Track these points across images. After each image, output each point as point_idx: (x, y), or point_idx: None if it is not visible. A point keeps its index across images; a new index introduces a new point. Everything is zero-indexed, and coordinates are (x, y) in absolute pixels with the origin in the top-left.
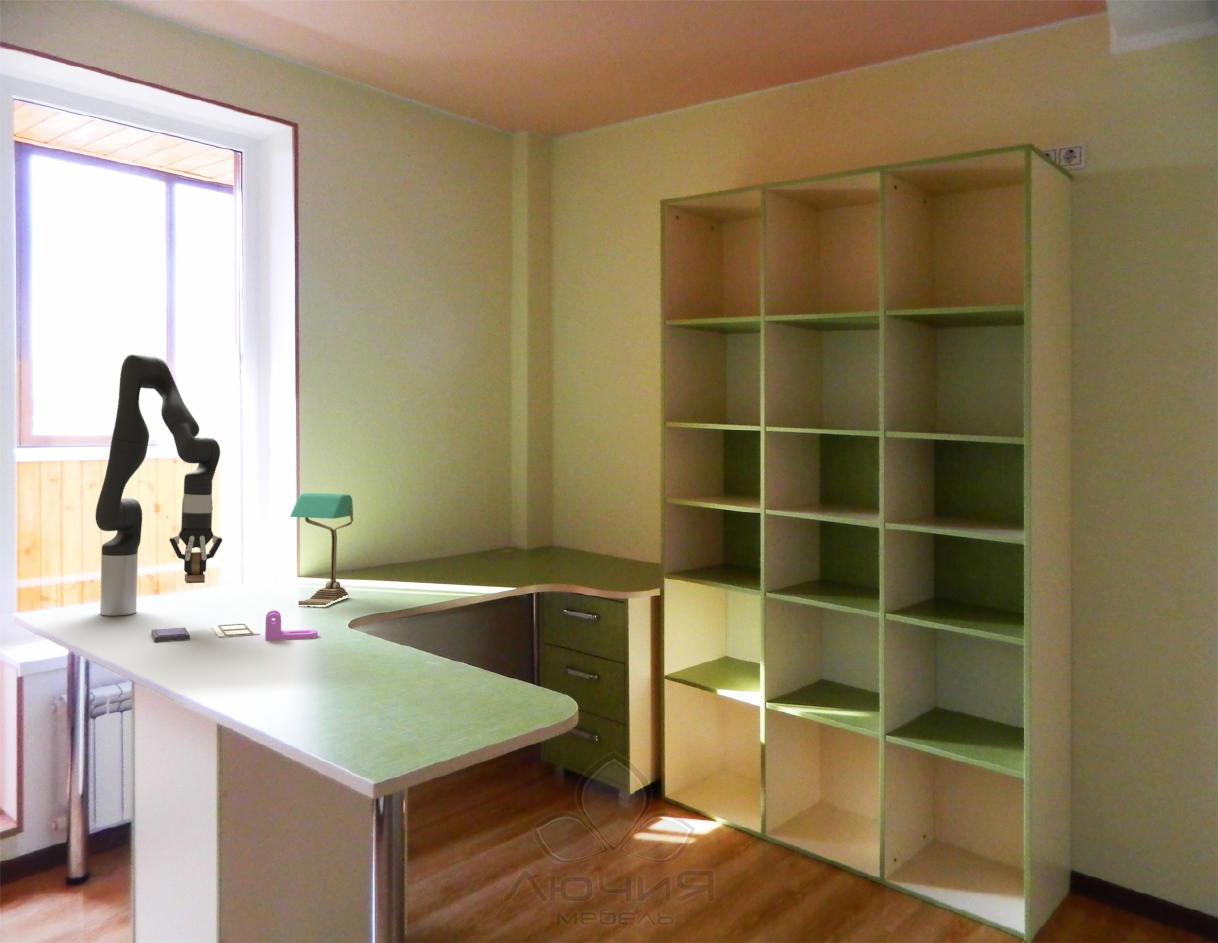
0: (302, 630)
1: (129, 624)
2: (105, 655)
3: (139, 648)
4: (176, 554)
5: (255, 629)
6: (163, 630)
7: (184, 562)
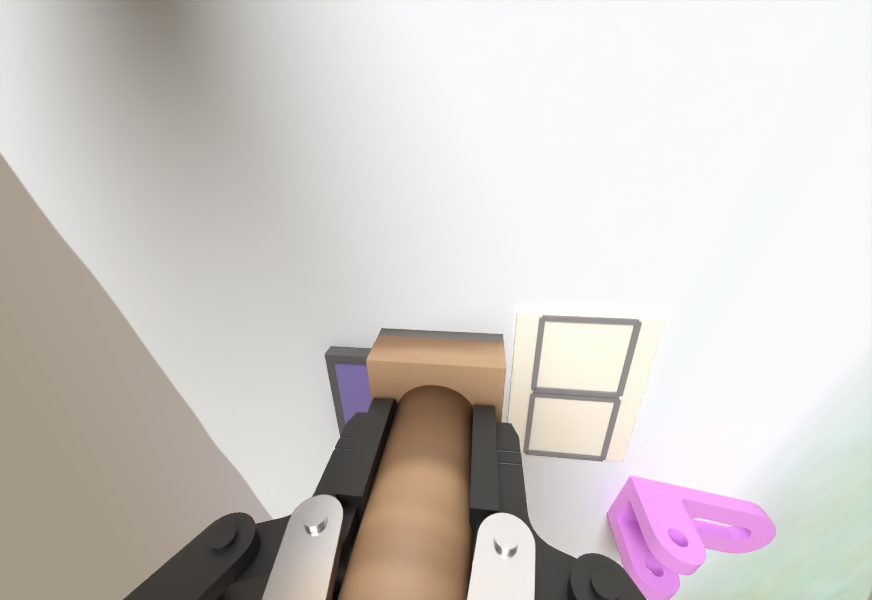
0: (741, 516)
1: (233, 139)
2: (264, 498)
3: (319, 474)
4: (190, 561)
5: (637, 411)
6: (358, 387)
7: (322, 488)
